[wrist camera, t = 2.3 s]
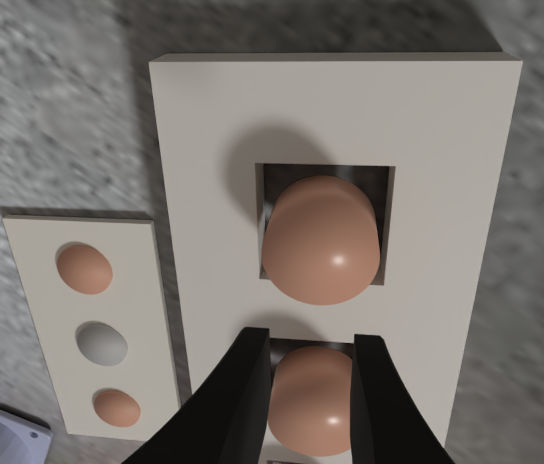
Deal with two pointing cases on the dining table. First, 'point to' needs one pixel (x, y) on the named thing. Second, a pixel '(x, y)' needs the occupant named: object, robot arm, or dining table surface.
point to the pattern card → (99, 320)
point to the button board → (335, 151)
